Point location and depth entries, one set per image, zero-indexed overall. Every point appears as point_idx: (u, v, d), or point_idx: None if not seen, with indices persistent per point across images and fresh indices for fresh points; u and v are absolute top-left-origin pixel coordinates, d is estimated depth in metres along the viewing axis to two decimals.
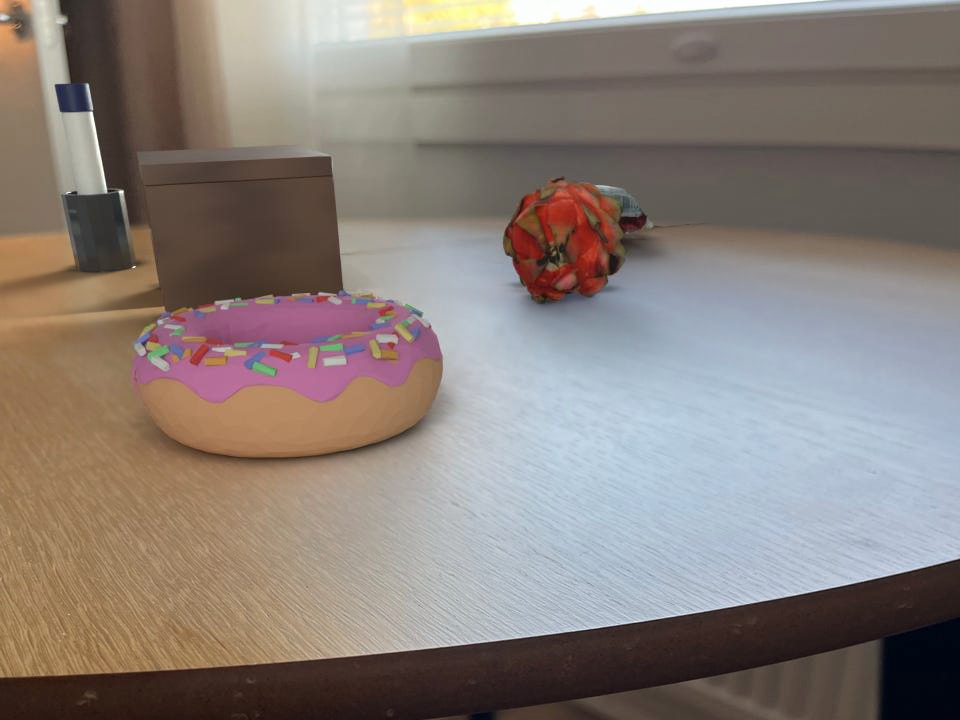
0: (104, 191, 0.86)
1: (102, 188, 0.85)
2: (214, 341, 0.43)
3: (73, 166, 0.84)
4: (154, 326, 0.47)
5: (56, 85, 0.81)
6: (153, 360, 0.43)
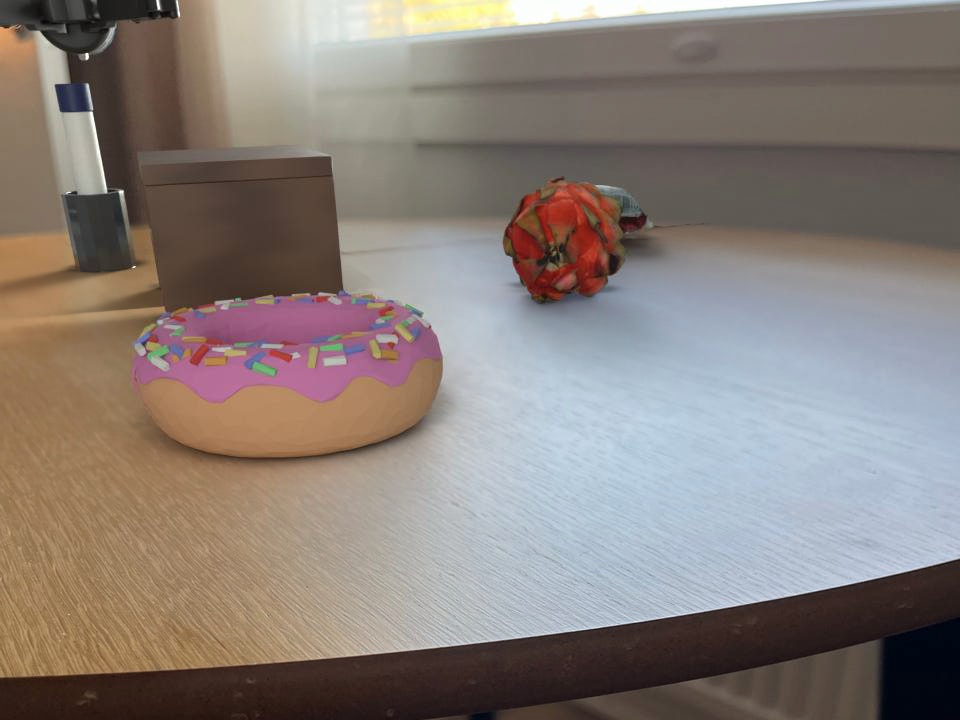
0: (104, 191, 0.86)
1: (102, 188, 0.85)
2: (214, 341, 0.43)
3: (73, 166, 0.84)
4: (154, 326, 0.47)
5: (56, 85, 0.81)
6: (153, 360, 0.43)
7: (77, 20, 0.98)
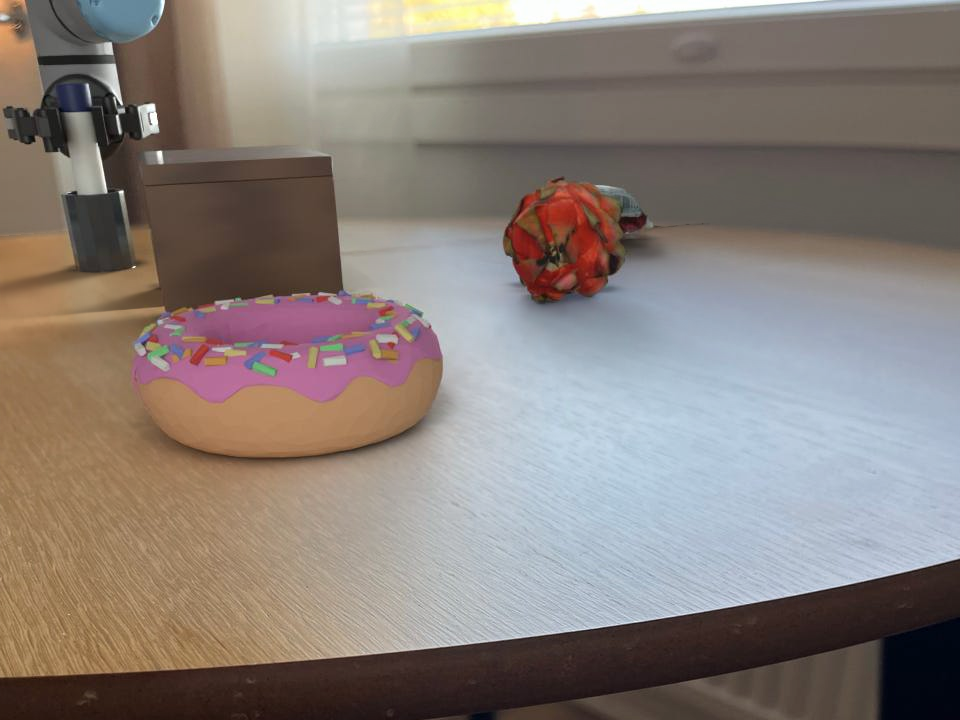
0: (104, 191, 0.86)
1: (102, 188, 0.85)
2: (214, 341, 0.43)
3: (73, 166, 0.84)
4: (154, 326, 0.47)
5: (56, 85, 0.81)
6: (153, 360, 0.43)
7: None
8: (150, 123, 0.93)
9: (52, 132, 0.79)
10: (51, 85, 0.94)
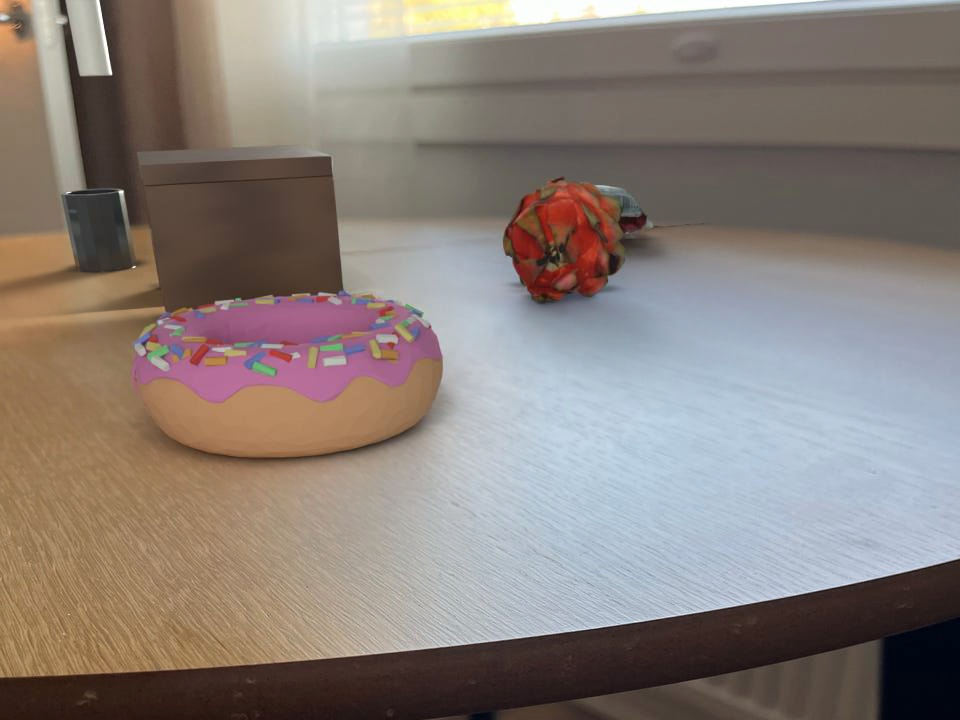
0: None
1: None
2: (214, 341, 0.43)
3: None
4: (154, 326, 0.47)
5: None
6: (153, 360, 0.43)
7: None
8: None
9: None
10: None
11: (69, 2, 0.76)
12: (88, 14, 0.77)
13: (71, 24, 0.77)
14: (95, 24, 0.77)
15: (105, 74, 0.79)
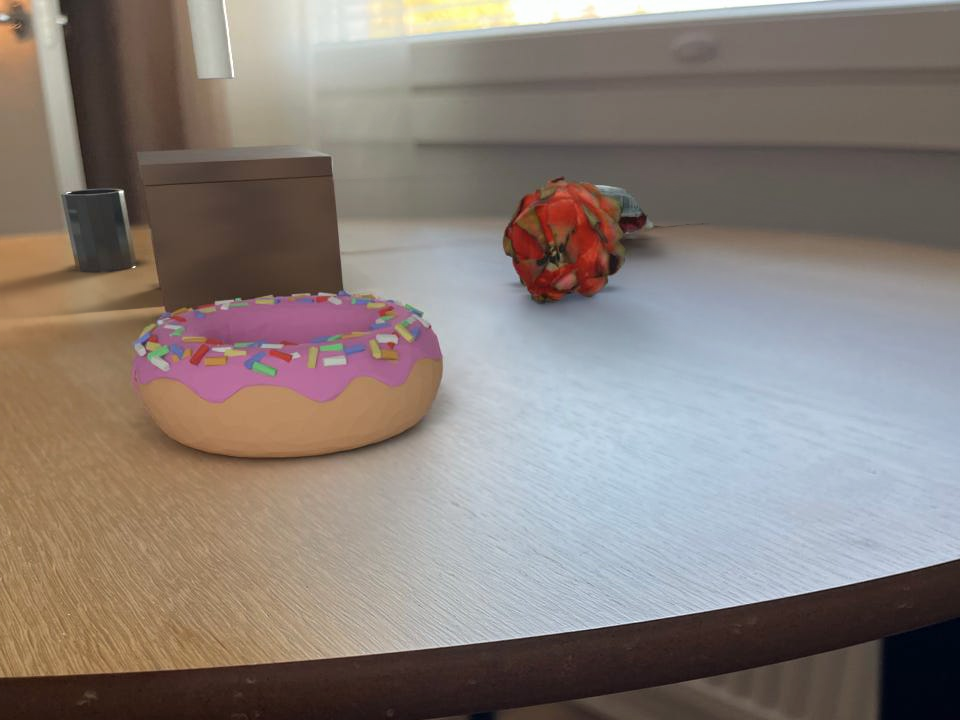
0: None
1: None
2: (214, 341, 0.43)
3: None
4: (154, 326, 0.47)
5: None
6: (153, 360, 0.43)
7: None
8: None
9: None
10: None
11: None
12: (212, 7, 0.66)
13: (191, 19, 0.67)
14: (219, 19, 0.67)
15: (228, 77, 0.68)
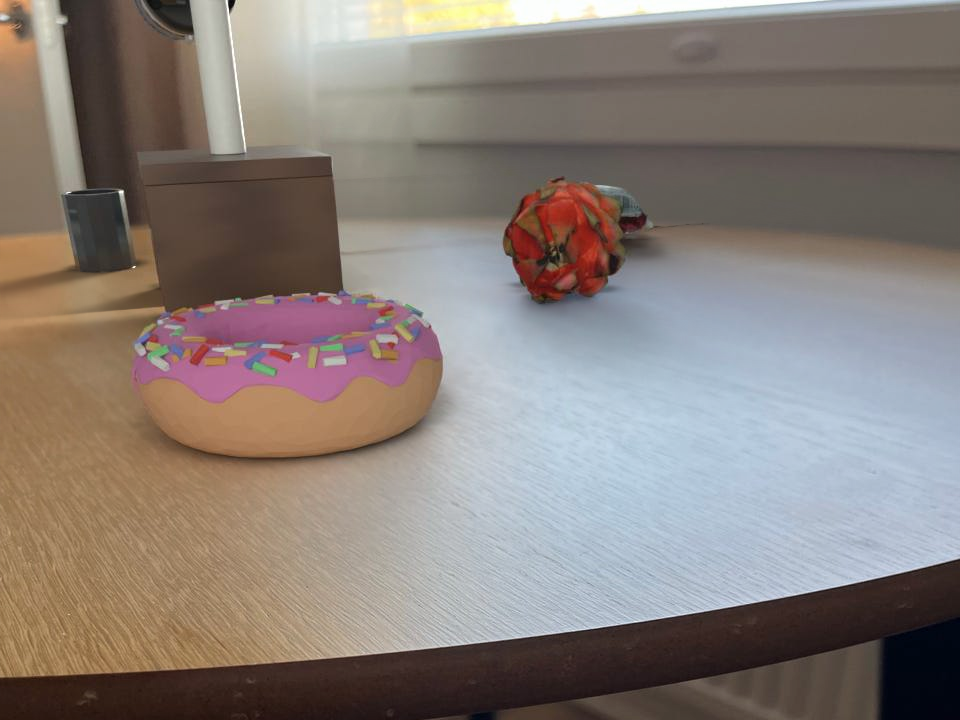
0: (231, 52, 0.68)
1: (229, 48, 0.67)
2: (214, 341, 0.43)
3: (194, 18, 0.66)
4: (154, 326, 0.47)
5: None
6: (153, 360, 0.43)
7: None
8: None
9: None
10: None
11: (204, 75, 0.68)
12: (225, 87, 0.68)
13: (205, 98, 0.69)
14: (232, 98, 0.69)
15: (240, 152, 0.70)
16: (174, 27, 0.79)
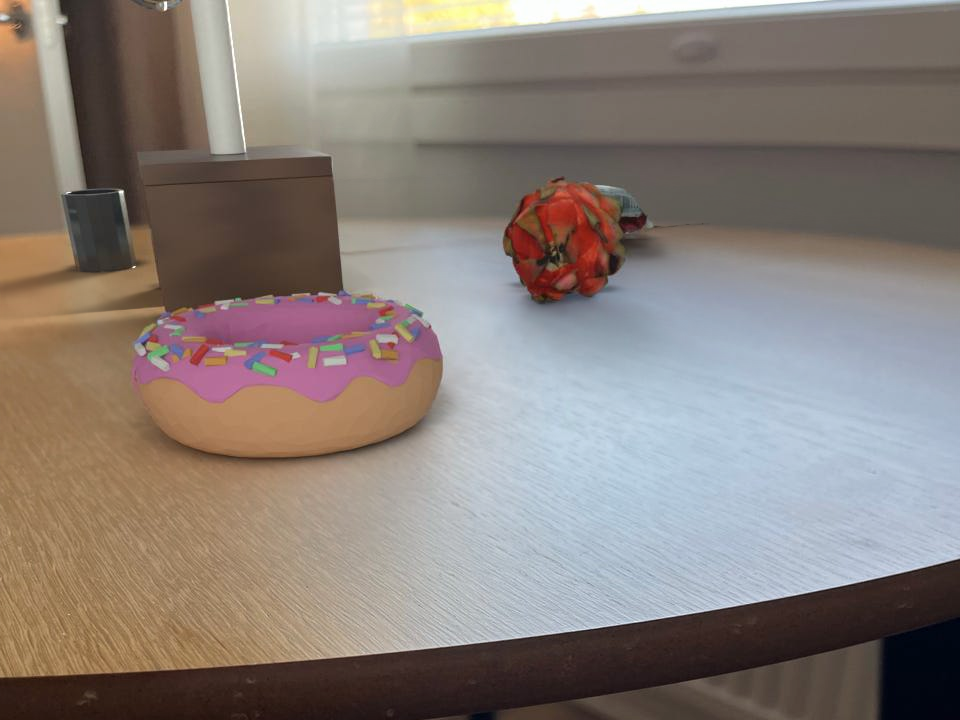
0: (231, 52, 0.68)
1: (229, 48, 0.67)
2: (214, 341, 0.43)
3: (194, 18, 0.66)
4: (154, 326, 0.47)
5: None
6: (153, 360, 0.43)
7: None
8: None
9: None
10: None
11: (204, 75, 0.68)
12: (225, 87, 0.68)
13: (205, 98, 0.69)
14: (232, 98, 0.69)
15: (240, 152, 0.70)
16: None
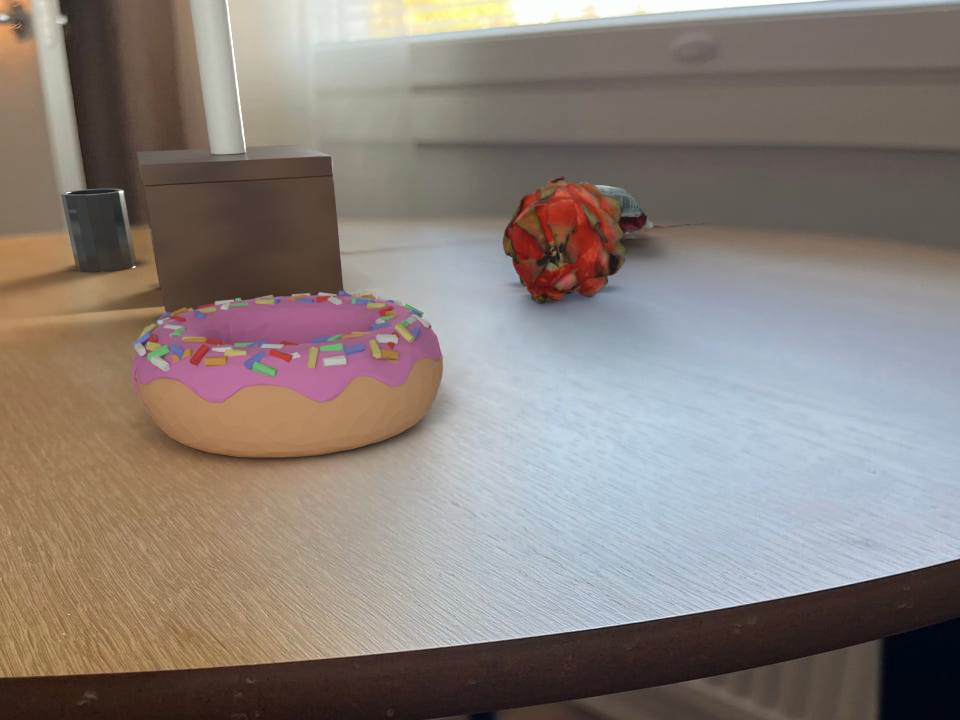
0: (231, 52, 0.68)
1: (229, 48, 0.67)
2: (214, 341, 0.43)
3: (194, 18, 0.66)
4: (154, 326, 0.47)
5: None
6: (153, 360, 0.43)
7: None
8: None
9: None
10: None
11: (204, 75, 0.68)
12: (225, 87, 0.68)
13: (205, 98, 0.69)
14: (232, 98, 0.69)
15: (240, 152, 0.70)
16: None
